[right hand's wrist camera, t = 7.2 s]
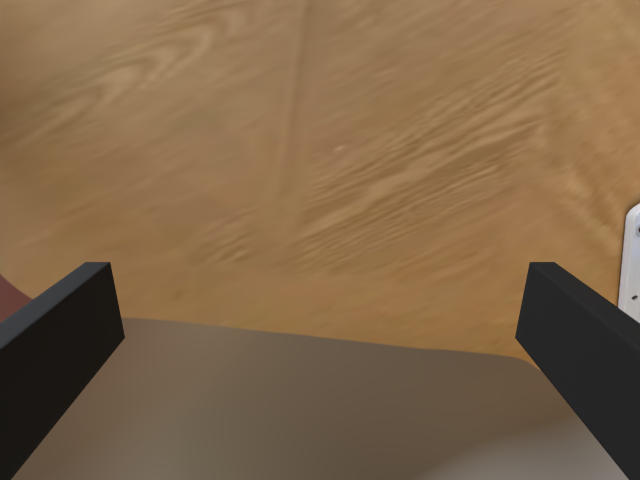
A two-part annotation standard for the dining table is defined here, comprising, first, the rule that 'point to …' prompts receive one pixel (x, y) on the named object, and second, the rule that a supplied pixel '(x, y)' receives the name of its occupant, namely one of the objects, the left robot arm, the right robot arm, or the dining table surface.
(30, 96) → the dining table surface
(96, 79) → the dining table surface
